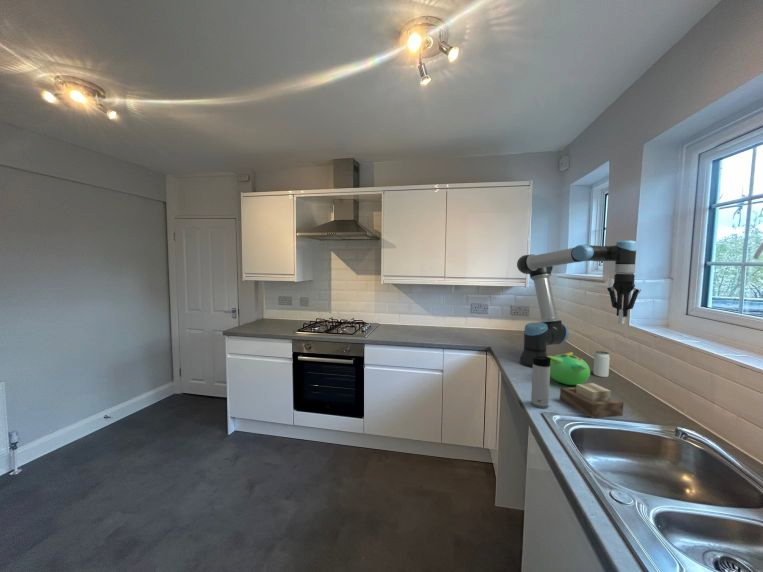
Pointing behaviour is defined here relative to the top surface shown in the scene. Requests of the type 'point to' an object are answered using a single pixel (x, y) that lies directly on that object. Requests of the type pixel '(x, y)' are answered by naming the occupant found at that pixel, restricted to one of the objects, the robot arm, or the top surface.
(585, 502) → the top surface
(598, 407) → the wooden tray
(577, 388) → the block
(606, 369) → the can
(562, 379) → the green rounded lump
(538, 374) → the travel mug
